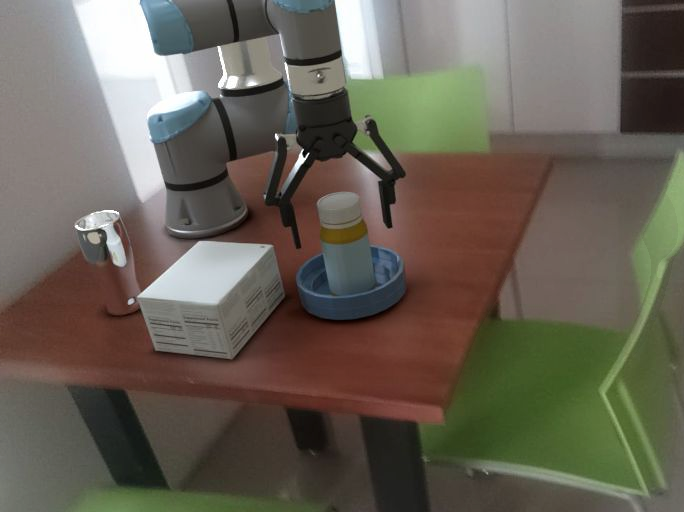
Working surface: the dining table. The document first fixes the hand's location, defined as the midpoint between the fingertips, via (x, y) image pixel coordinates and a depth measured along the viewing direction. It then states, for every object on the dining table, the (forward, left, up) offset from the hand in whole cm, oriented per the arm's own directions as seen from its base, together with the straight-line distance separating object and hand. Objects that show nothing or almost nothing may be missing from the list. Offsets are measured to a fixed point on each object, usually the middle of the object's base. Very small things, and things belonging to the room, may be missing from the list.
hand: (343, 234), depth 115 cm
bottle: (0, 0, -10) cm, 10 cm away
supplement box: (-6, -19, -10) cm, 23 cm away
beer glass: (-22, -30, -10) cm, 38 cm away
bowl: (0, 0, -10) cm, 10 cm away
